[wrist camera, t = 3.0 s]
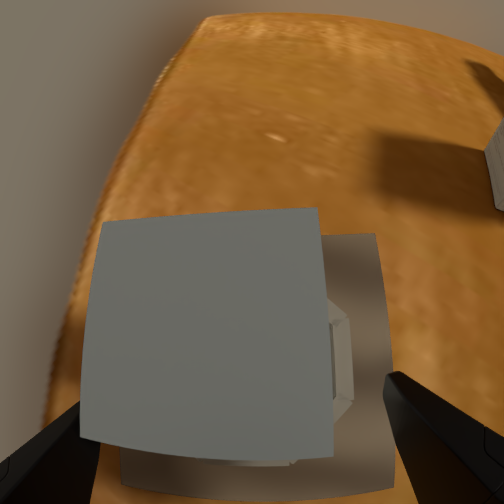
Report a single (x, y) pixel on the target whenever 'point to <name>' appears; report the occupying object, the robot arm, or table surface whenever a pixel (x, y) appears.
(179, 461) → the ring stand
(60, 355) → the table surface
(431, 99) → the table surface
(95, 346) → the link block
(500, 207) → the supplement box
